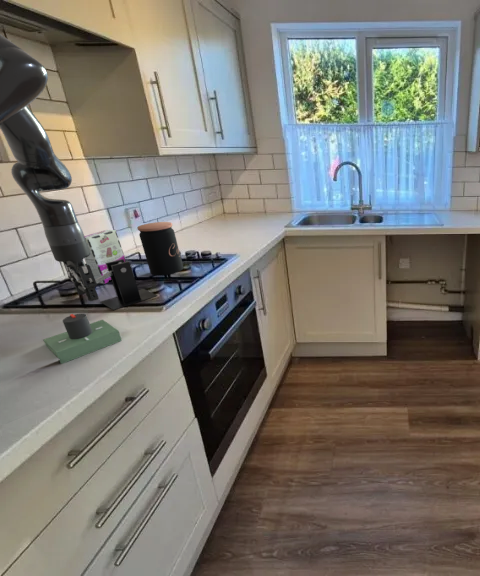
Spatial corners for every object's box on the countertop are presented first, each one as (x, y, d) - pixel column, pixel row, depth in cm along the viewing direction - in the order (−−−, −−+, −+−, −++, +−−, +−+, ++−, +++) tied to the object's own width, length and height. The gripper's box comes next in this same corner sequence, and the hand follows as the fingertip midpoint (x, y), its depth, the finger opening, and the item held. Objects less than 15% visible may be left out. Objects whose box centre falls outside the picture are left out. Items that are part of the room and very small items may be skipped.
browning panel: (61, 364, 80) (55, 352, 79) (47, 350, 86) (42, 338, 84) (121, 340, 89) (117, 329, 88) (106, 329, 94) (102, 318, 93)
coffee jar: (180, 276, 130) (167, 227, 123) (147, 279, 128) (132, 229, 121) (187, 266, 140) (175, 220, 133) (156, 269, 137) (143, 223, 130)
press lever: (87, 295, 99) (81, 288, 98) (81, 291, 102) (75, 285, 100) (130, 270, 106) (124, 263, 105) (123, 267, 109) (118, 260, 107)
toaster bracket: (114, 313, 103) (99, 271, 98) (101, 305, 109) (86, 265, 104) (158, 298, 112) (147, 259, 107) (144, 291, 117) (132, 254, 112)
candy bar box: (119, 272, 135) (105, 229, 129) (130, 273, 135) (117, 229, 128) (92, 283, 125) (75, 237, 119) (104, 284, 124) (88, 238, 118)
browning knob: (95, 333, 86) (88, 315, 85) (72, 341, 83) (65, 322, 81) (89, 328, 89) (82, 310, 87) (67, 335, 86) (59, 317, 84)
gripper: (93, 241, 94) (113, 298, 100) (75, 234, 102) (94, 287, 108) (57, 248, 88) (81, 307, 95) (41, 240, 96) (63, 295, 103)
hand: (88, 296), depth 101 cm, fingers open, 8 cm apart
